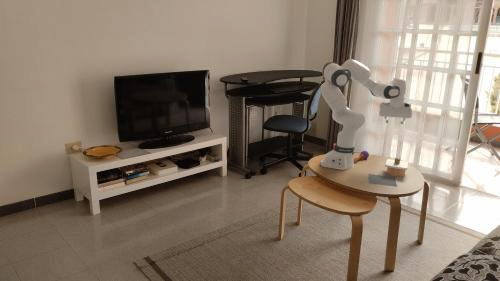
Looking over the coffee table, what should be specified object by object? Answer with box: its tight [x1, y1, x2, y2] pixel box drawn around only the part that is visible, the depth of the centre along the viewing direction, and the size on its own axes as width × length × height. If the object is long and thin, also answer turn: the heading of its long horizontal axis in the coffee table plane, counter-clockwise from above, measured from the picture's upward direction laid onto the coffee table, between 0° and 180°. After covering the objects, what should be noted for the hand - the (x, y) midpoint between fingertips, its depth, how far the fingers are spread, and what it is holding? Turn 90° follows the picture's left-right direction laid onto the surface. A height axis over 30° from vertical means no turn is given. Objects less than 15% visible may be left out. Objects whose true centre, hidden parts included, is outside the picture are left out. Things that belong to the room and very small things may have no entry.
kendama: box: [353, 150, 370, 164], centre depth 270 cm, size 6×6×20 cm
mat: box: [368, 173, 398, 187], centre depth 236 cm, size 16×16×1 cm
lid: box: [384, 157, 409, 171], centre depth 245 cm, size 13×13×4 cm
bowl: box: [386, 167, 407, 177], centre depth 247 cm, size 11×11×6 cm
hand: (394, 123), depth 256 cm, fingers open, 8 cm apart
